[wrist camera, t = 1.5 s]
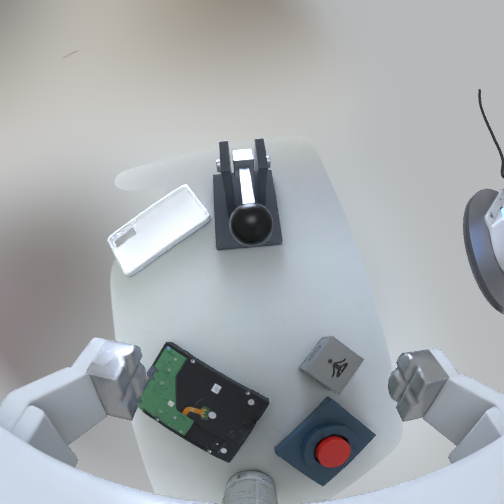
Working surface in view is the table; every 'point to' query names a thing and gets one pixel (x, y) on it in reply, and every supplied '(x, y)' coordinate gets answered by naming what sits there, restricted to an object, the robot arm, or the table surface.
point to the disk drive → (200, 402)
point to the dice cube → (331, 364)
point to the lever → (249, 205)
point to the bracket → (231, 197)
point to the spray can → (250, 489)
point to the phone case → (159, 229)
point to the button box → (314, 431)
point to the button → (333, 451)
